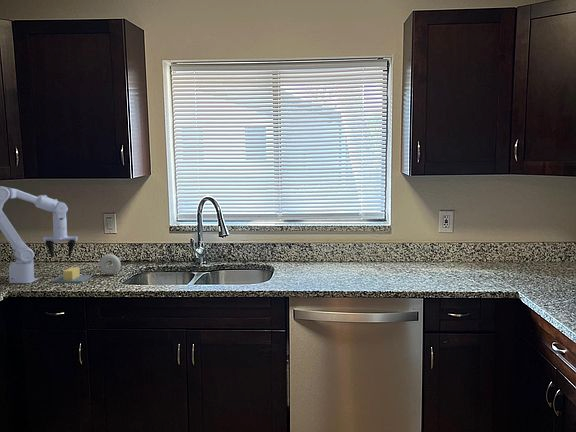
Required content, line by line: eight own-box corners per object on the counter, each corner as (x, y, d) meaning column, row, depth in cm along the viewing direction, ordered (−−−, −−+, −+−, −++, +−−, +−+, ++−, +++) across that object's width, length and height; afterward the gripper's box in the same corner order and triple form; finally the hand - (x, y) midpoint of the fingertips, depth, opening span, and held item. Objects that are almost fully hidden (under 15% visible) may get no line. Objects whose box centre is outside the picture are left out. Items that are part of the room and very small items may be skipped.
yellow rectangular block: (71, 275, 236) (70, 267, 236) (79, 275, 236) (79, 267, 236) (63, 279, 228) (63, 271, 228) (72, 279, 228) (72, 271, 228)
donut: (98, 275, 240) (97, 254, 239) (100, 274, 244) (100, 253, 243) (119, 275, 241) (119, 254, 240) (122, 274, 244) (121, 253, 243)
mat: (50, 282, 226) (50, 280, 226) (62, 276, 238) (62, 274, 238) (82, 282, 226) (82, 281, 226) (92, 276, 238) (92, 275, 238)
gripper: (40, 229, 230) (42, 258, 232) (74, 228, 233) (75, 257, 235) (45, 227, 237) (46, 255, 239) (78, 226, 240) (79, 255, 241)
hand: (61, 256), depth 237 cm, fingers open, 7 cm apart
